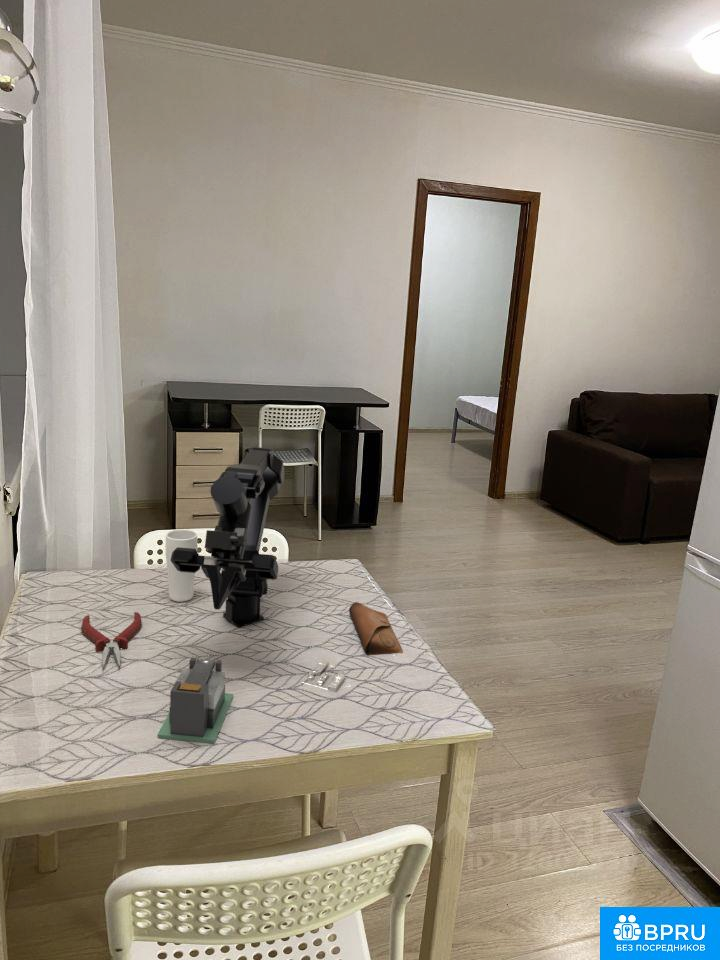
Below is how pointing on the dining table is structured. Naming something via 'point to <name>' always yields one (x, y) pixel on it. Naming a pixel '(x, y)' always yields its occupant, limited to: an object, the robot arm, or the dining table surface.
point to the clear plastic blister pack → (335, 682)
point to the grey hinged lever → (198, 676)
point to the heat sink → (210, 694)
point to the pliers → (104, 642)
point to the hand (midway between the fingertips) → (216, 608)
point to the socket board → (192, 713)
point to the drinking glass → (177, 581)
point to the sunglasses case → (374, 630)
